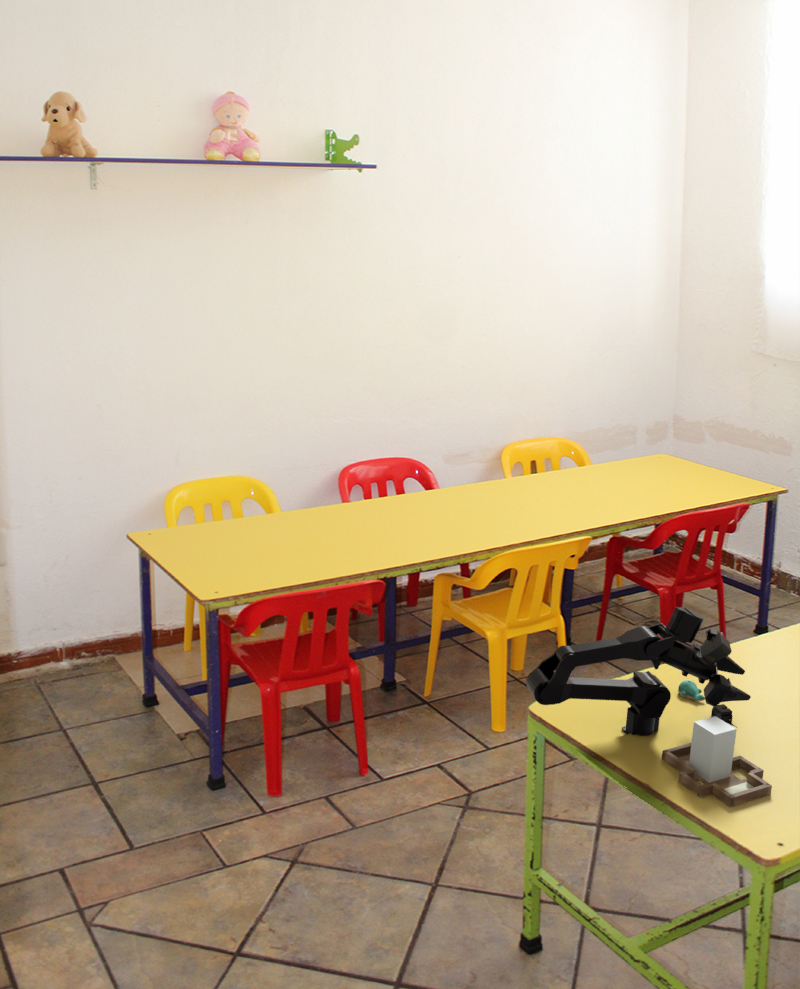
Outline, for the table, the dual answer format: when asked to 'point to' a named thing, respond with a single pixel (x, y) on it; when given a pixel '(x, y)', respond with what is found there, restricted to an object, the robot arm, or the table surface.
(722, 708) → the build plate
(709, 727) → the block
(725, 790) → the brown compartment tray
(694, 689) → the whale figurine
